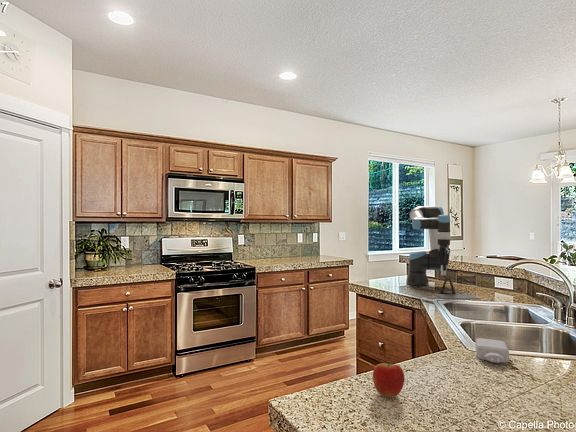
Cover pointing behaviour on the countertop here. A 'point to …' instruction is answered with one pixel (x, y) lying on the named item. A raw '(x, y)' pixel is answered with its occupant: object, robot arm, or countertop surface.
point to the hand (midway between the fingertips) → (443, 275)
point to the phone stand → (450, 284)
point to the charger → (492, 350)
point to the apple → (388, 379)
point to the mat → (455, 296)
